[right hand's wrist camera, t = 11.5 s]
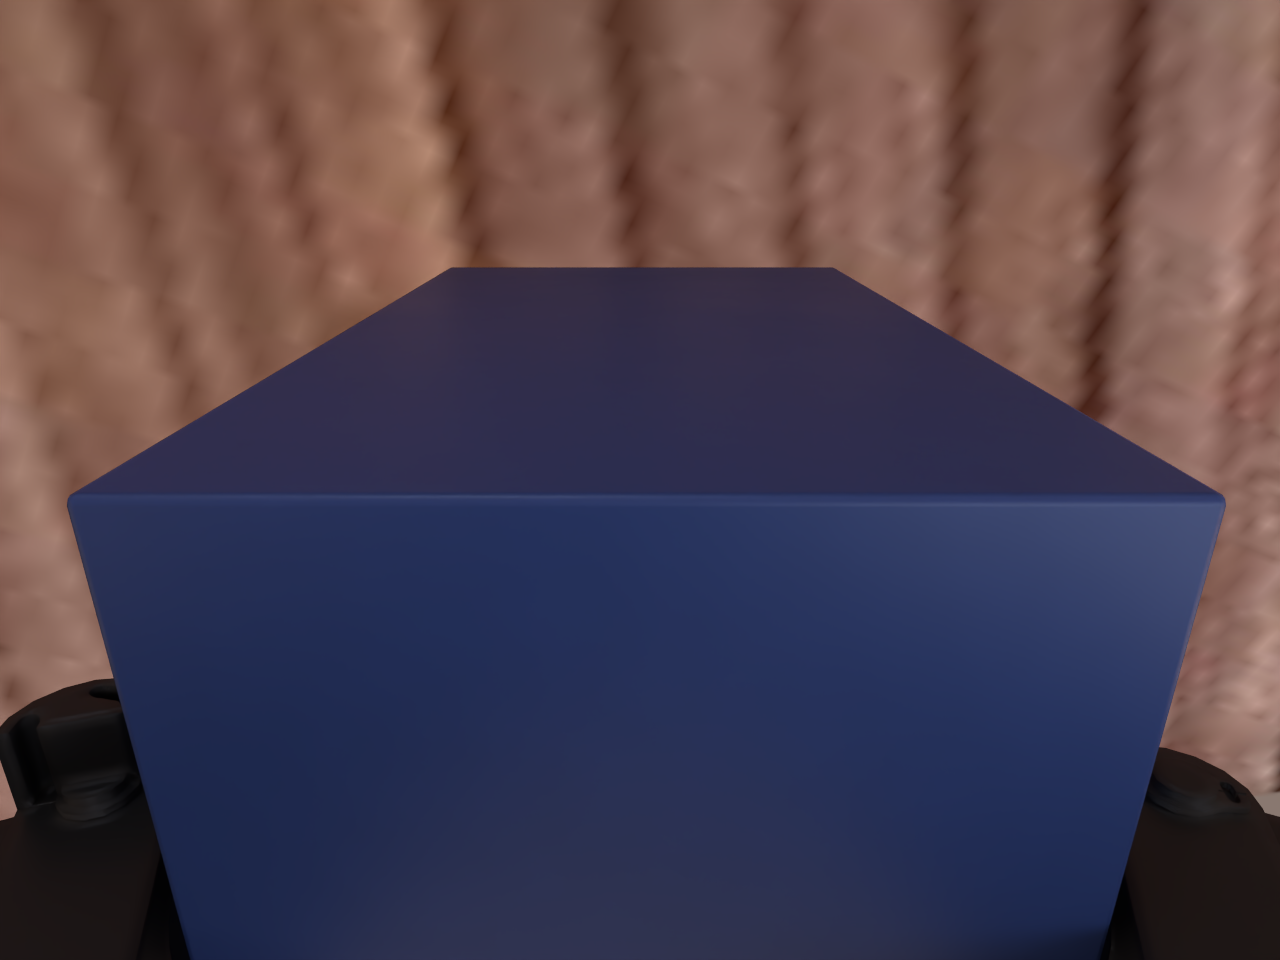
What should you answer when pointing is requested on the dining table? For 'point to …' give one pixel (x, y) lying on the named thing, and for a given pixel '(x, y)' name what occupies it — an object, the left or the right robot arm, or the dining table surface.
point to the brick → (645, 633)
